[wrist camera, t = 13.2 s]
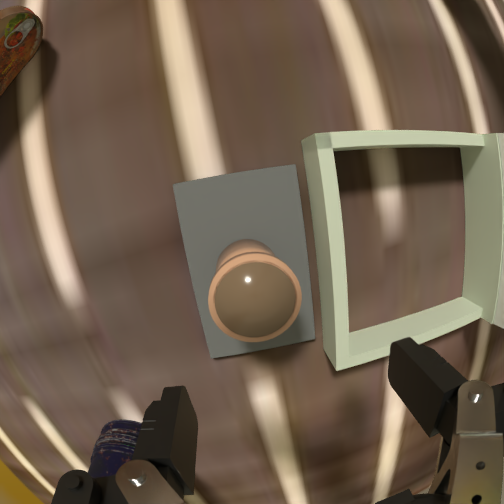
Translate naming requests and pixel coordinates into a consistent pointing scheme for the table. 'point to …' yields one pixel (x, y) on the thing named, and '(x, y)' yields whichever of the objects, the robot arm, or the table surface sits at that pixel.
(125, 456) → the storage jar
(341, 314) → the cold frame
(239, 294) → the pot
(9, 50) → the tin
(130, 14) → the table surface
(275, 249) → the slate mat
